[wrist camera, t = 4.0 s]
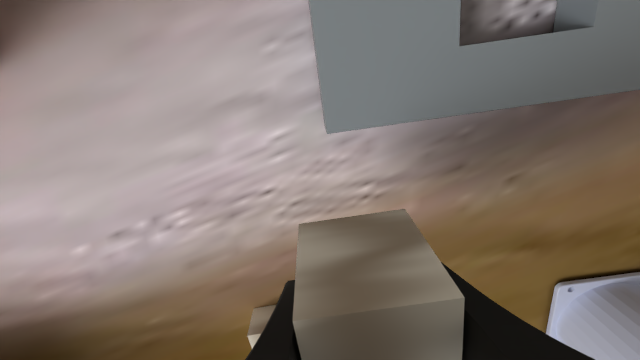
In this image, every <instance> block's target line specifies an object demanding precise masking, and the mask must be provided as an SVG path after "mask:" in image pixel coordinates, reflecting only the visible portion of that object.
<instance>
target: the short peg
mask: <svg viewBox="0 0 640 360" xmlns="http://www.w3.org/2000/svg"><path fill="white" fill-rule="evenodd" d="M275 307H276V305H271V306H265V307H260V308H254V309H253V314H252V318H251V322H250V327H249V331H248V335H247V336H248V339H249V341H250V344H251V347H252V348H253V347H254V345H255V343H256V342H257V340H258V338H259V337H260V335H261V333H262V332H263V330H264V328H265V326H266V324H267V322H268V321H269V319H270V317H271V315H272V313H273V311H274V309H275Z"/></svg>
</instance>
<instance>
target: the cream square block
mask: <svg viewBox="0 0 640 360" xmlns="http://www.w3.org/2000/svg"><path fill="white" fill-rule="evenodd" d="M464 302H465V297H464V296H463V294H462V293H461V291H460V290H459V288H458V287H457V285H456V284H455V283H454V281H453V280H452V278H451V277H450V275H449V274H448V272H447V271H446V269H445V268H444V266H443V265H442V263H441V262H440V260H439V259H438V257H437V256H436V254H435V253H434V251H433V250H432V249H431V247H430V246H429V244H428V243H427V241H426V240H425V238H424V237H423V235H422V234H421V232H420V231H419V229H418V228H417V226H416V225H415V223H414V222H413V220H412V219H411V217H410V216H409V214H408V213H407V212H406V210H405V209H400V210H393V211H386V212H380V213H373V214H366V215H359V216H352V217H345V218H338V219H331V220H324V221H317V222H310V223H303V224H299V231H298V246H297V261H296V276H295V291H294V307H293V325H294V330H295V334H296V338H297V343H298V347H299V351H300V355H301V360H462V349H463V325H464Z"/></svg>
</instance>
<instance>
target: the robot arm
mask: <svg viewBox="0 0 640 360" xmlns="http://www.w3.org/2000/svg"><path fill="white" fill-rule="evenodd" d="M441 263H442V262H441ZM442 265H443V266H444V268H445V269H446V271H447V272H448V274H449V275H450V277H451V278H452V280H453V281H454V283H455V284H456V285H457V287H458V288H459V290H460V291H461V293H462V294H463V296H464V297H465V302H464V325H463V349H462V360H640V272H636V273H628V274H620V275H613V276H605V277H598V278H590V279H582V280H575V281H567V282H561V283H558V284H557V285H556V286H555V288H554V293H553V299H552V304H551V309H550V314H549V320H548V325H547V330H546V334H545V333H544V332H542V331H540V330H538V329H537V328H535V327H533V326H531V325H530V324H528V323H526V322H525V321H523V320H521V319H520V318H518V317H517V316H515V315H513V314H512V313H510V312H509V311H507V310H506V309H504V308H503V307H501V306H500V305H498V304H497V303H495V302H494V301H492V300H491V299H489V298H488V297H487V296H485V295H484V294H482V293H481V292H480V291H478V290H477V289H476V288H474V287H473V286H471V285H470V284H469V283H468V282H466V281H465V280H464V279H462V278H461V277H460V276H458V275H457V274H456V273H454V272H453V271H452V270H451V269H449V268H448V267H447V266H445V265H444V264H443V263H442ZM294 291H295V280H291V281H288V282H287V283H286V284H285V287H284V289H283V292H282V294H281V296H280V298H279V301H278V303H277V305H276V307H275V309H274V311H273V313H272V315H271V317H270V319H269V321H268V322H267V324H266V326H265V328H264V330H263V332H262V333H261V335H260V337H259V338H258V340H257V342H256V343H255V345H254V347H253V348H252V350H251V352H250V353H249V355H248V356H247V358H246V359H245V360H301V355H300V351H299V347H298V343H297V338H296V334H295V330H294V325H293V307H294Z"/></svg>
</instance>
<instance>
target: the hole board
mask: <svg viewBox="0 0 640 360" xmlns="http://www.w3.org/2000/svg"><path fill="white" fill-rule="evenodd" d="M309 8H310V15H311V23H312V31H313V38H314V46H315V54H316V62H317V69H318V77H319V85H320V92H321V100H322V108H323V116H324V123H325V128H326V132H327V134H330V133H337V132H344V131H351V130H358V129H365V128H372V127H379V126H386V125H393V124H400V123H407V122H414V121H422V120H429V119H436V118H443V117H450V116H457V115H464V114H471V113H478V112H485V111H492V110H499V109H506V108H514V107H521V106H528V105H535V104H542V103H549V102H556V101H563V100H570V99H577V98H584V97H591V96H598V95H605V94H613V93H620V92H627V91H634V90H640V0H557V7H556V15H555V22H554V29H553V33H547V34H540V35H533V36H526V37H519V38H513V39H506V40H499V41H492V42H485V43H478V44H471V45H464V46H459V40H460V9H461V0H309Z"/></svg>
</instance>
